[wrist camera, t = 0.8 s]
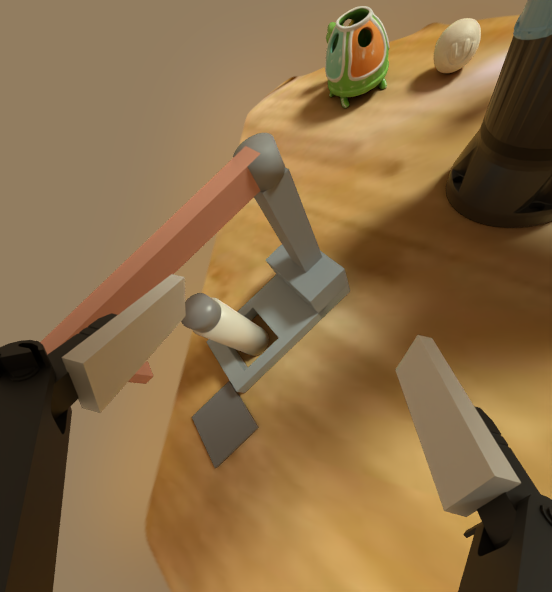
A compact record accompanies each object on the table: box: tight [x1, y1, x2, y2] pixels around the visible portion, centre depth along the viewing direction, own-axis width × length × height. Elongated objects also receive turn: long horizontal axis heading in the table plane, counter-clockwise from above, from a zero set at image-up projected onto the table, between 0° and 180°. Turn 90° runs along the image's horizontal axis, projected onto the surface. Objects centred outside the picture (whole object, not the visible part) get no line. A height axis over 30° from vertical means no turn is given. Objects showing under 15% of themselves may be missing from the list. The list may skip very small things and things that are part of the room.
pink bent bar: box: [40, 133, 285, 384], centre depth 23 cm, size 26×4×10 cm, turn 129°
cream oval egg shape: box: [434, 18, 481, 73], centre depth 43 cm, size 7×7×7 cm
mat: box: [192, 381, 259, 468], centre depth 35 cm, size 8×8×1 cm
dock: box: [207, 168, 350, 393], centre depth 30 cm, size 22×10×21 cm, turn 129°
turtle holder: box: [325, 6, 389, 108], centre depth 50 cm, size 12×18×12 cm
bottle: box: [181, 293, 269, 356], centre depth 32 cm, size 5×5×15 cm
